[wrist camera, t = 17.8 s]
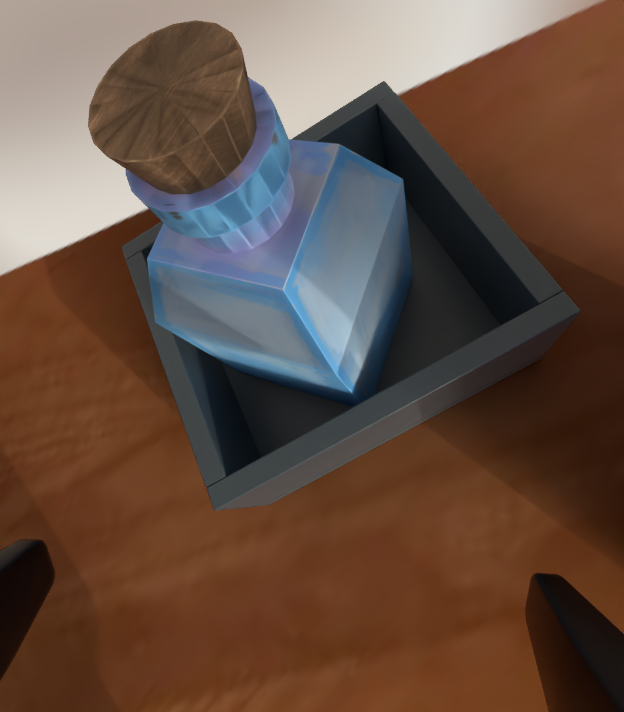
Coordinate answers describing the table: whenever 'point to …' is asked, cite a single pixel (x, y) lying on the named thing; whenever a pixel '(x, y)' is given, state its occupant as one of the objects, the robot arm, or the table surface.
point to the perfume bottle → (255, 219)
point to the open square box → (411, 338)
